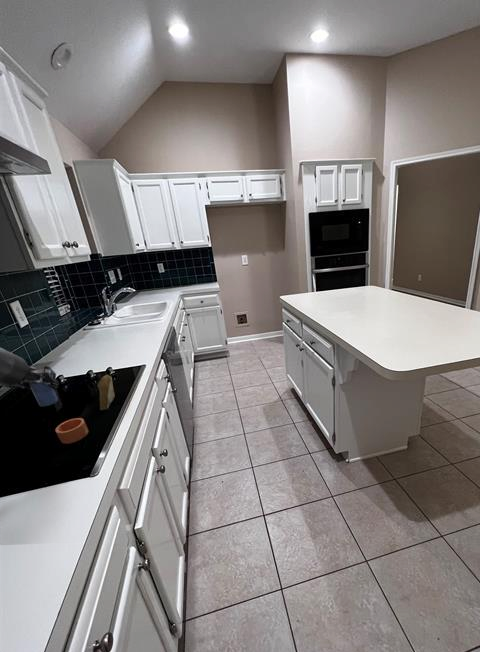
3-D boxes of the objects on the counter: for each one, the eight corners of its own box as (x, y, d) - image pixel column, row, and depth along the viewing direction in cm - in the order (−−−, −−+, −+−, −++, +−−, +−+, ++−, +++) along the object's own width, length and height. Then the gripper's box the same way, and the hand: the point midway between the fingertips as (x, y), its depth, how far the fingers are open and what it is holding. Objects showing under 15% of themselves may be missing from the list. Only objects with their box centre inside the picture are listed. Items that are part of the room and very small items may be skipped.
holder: (56, 438, 95) (51, 428, 94) (82, 425, 101) (77, 415, 99) (66, 446, 91) (61, 435, 90) (92, 433, 97) (88, 422, 95)
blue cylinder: (37, 404, 87) (24, 378, 84) (54, 396, 90) (43, 371, 87) (42, 408, 84) (29, 382, 81) (60, 400, 88) (49, 375, 84)
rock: (109, 406, 106) (127, 388, 114) (87, 389, 103) (107, 372, 111) (96, 419, 111) (114, 401, 119) (75, 404, 109) (95, 386, 117)
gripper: (31, 345, 73) (74, 370, 89) (-36, 353, 72) (20, 377, 88) (27, 375, 71) (73, 395, 87) (-42, 385, 69) (17, 403, 85)
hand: (46, 386), depth 87 cm, fingers closed on blue cylinder, 4 cm apart
